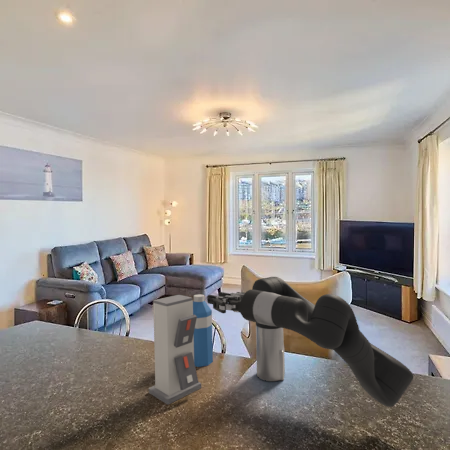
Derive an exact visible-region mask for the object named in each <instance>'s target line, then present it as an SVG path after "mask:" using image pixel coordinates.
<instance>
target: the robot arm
mask: <svg viewBox="0 0 450 450" xmlns="http://www.w3.org/2000/svg"><path fill="white" fill-rule="evenodd" d="M206 299H207V301H206V303H207V304H208V305H209V304H210V305H212V309H214V310H216V311H218V313H221V314H226V313H227V311H233V312H234V313H240V315H241V316H242V318H243V319H244V320H245V321H249V322H251V323H252V322H253V323H255V344H256V345H255V348H256V350H255V352H256V354H255V355H256V376H257V377H259V378H258V379H260V378H261V379H260V380H262V379H263V381H265V380H266V381H265V382H277V381H278V382H279V381H284V380H285V379H284V378H285V373H286V372H285V371H286V369H285V368H286V367H285V344H284V342H285V341H284V329H286V330H290V331H292V332H295V333H297V334H299V335H301V336H303V337H305V338H307V339H308V340H310V341H311V342H313V343H314V344H316V345H317V346H318V347H320V348H322V349H325V350H330V351H331V350H332V351H334V352H335V353H336V354H337V355H338V356H339V357H340V358H341V359H342V360H343V361H344V362H345V363H346V365H348V367H349V369H350V370H351V372H352V373H353V375H354V377H355V378H356V380H357V382H358V384H360V386H361V388H362V389H363V390H364V391H365V392H366V393H367V394H368V395H369V396H370V397H372V398H373V399H374V400H375V401H377V402H378V403H379V404H381V405H383V406H385V407H387V408H391V407H394V406H395V405H396V404H397V403H398V402H399V400H401V398H402V396H403V395H404V394H405V393H406V391H407V389H408V388H409V387H410V385H411V384H412V381H413V380H414V374H413V372H412V371H411V370H410V368H408V366H406V365H405V364H404V363H402V362H401V361H400V360H398V359H396V358H395V357H393V356H392V355H390V354H389V353H387V352H385V351H384V350H382V349H381V348H380V347H378V346H376V345H374V344H373V343H372V342H370V341H369V339H368V338H367V337H366V336H365V335H364V334H363V332H362V331H361V330H360V327H359V323H358V321H357V318H356V316H355V313H354V310H353V308H352V307H351V305H350V304H349V303H348V302H347V301H346V300H345V299H344V298H342V297H341V296H339V295H337V294H332V293H331V294H330V293H326V294H322V295H321V296H320V297H318V299H317V301H316V302H315V303H313V302H311V301H310V300H308V299H307V298H305V297H304V296H303V295H301V294H300V293H299V292H298V291H297V290H295V289H294V288H293V287H292V286H291V285H290V284H289V283H288V282H286V281H285V280H284V279H282V278H280V277H279V276H268V277H262V278H258V279H257V280H255V281H254V282H253V284H252V289H248V290H246V292H241V291H236V292H230V293H228V292H223V291H220V292H218V295H213V294H208V295H207V297H206Z"/></svg>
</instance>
